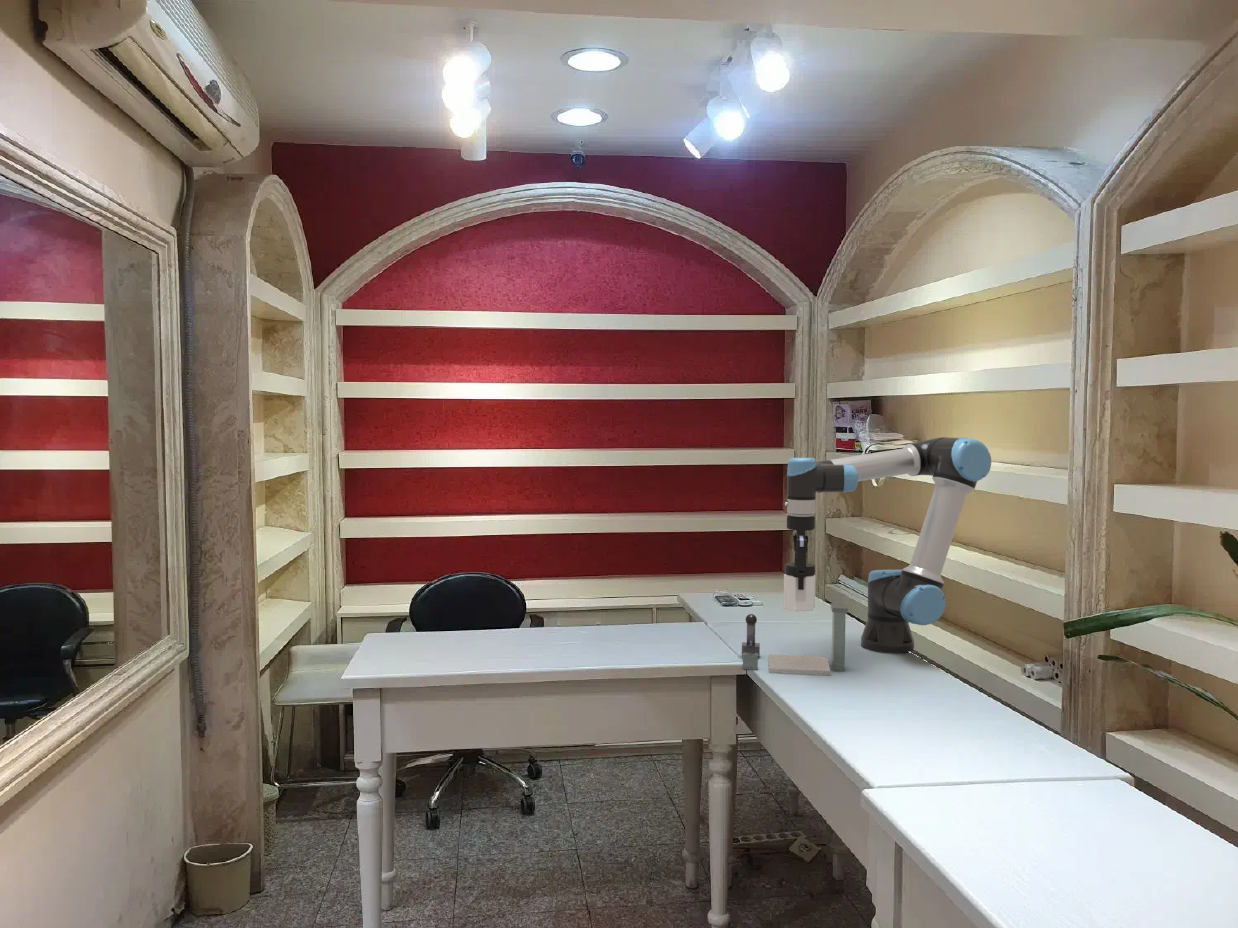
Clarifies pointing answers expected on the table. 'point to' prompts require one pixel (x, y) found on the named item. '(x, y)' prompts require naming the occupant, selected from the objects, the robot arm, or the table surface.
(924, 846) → the table surface
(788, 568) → the jar
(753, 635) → the lever
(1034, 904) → the table surface
